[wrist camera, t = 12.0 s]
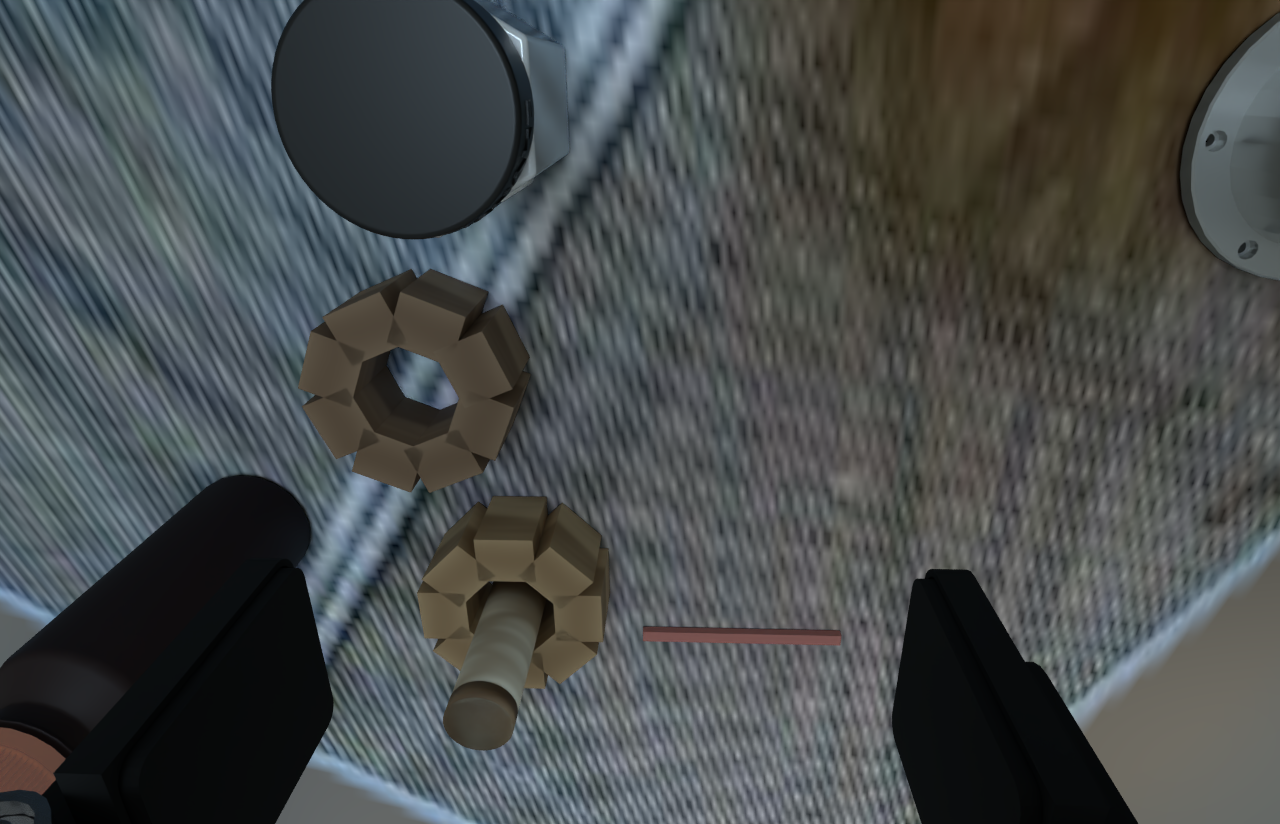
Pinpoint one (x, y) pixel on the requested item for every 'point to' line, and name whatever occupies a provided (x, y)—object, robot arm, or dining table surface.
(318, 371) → the bead
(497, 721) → the dowel
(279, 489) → the bottle
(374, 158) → the jar
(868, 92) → the dining table surface
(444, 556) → the bead
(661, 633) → the reddish brown square stick
